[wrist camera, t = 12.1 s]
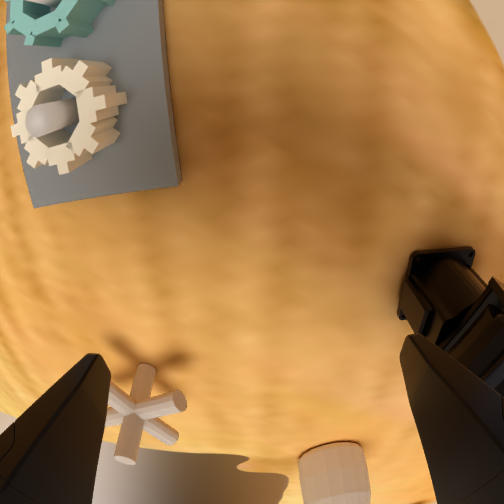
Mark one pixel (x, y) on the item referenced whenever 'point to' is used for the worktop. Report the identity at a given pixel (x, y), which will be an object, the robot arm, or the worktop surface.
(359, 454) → the soap bottle
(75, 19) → the teal gear
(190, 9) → the worktop surface
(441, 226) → the worktop surface
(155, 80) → the gear board
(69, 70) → the cream gear
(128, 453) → the pipe connector
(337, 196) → the worktop surface
